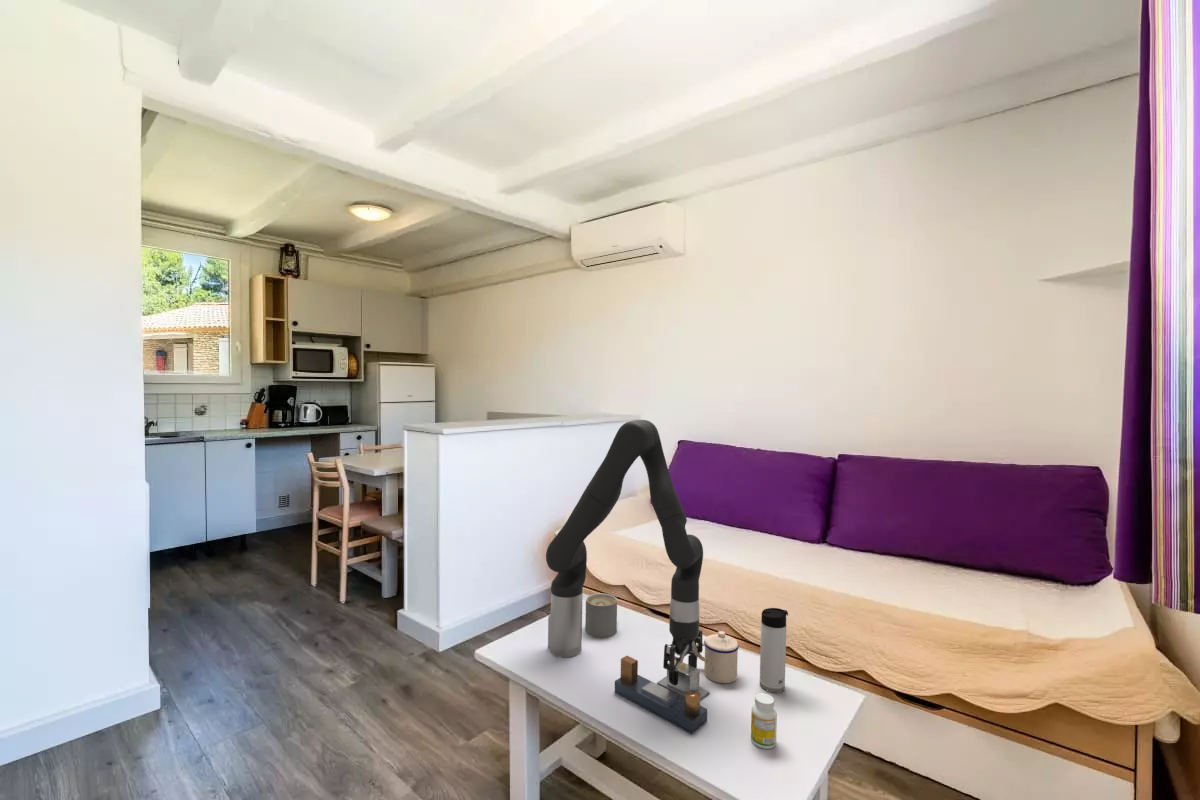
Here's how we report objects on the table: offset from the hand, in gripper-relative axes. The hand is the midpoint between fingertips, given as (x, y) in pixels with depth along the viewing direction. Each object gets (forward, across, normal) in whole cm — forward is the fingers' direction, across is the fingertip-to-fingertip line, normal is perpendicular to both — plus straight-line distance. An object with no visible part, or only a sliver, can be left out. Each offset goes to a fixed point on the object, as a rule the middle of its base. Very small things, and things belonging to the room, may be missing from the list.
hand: (683, 677), depth 135 cm
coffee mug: (+3, -11, -37) cm, 39 cm away
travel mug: (+3, -18, +16) cm, 24 cm away
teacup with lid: (+3, -13, +2) cm, 13 cm away
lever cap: (+2, 0, 0) cm, 2 cm away
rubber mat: (+3, 0, 0) cm, 3 cm away
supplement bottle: (+3, +4, +24) cm, 25 cm away
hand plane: (+3, +10, 0) cm, 11 cm away
